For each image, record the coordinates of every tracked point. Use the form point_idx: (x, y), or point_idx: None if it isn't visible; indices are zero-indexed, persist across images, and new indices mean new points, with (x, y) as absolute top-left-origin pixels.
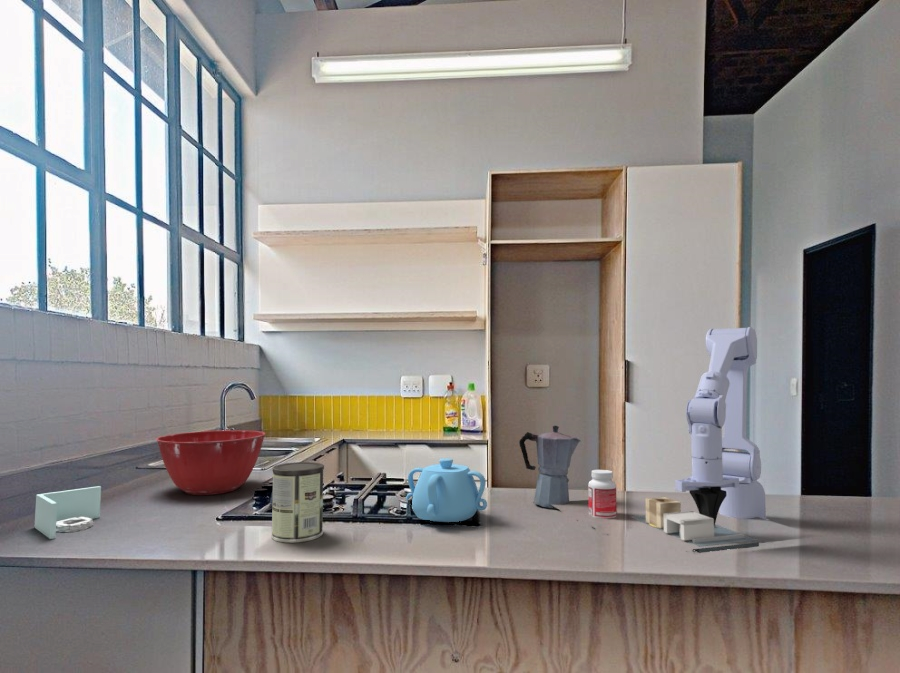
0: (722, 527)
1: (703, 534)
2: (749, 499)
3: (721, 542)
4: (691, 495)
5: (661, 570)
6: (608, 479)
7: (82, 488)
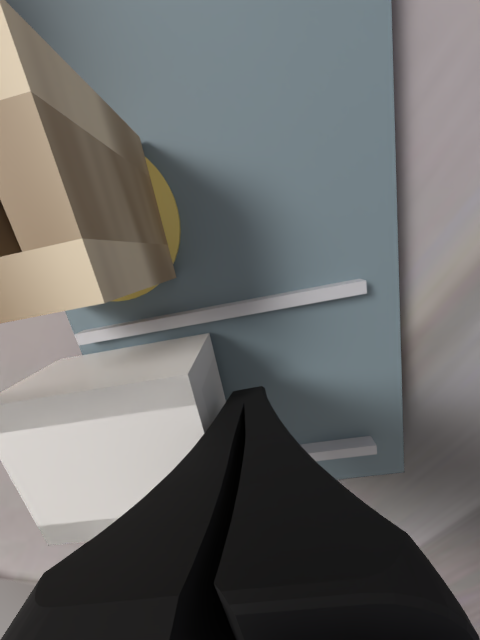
0: (392, 297)
1: None
2: None
3: None
4: (92, 543)
5: (4, 562)
6: None
7: None
